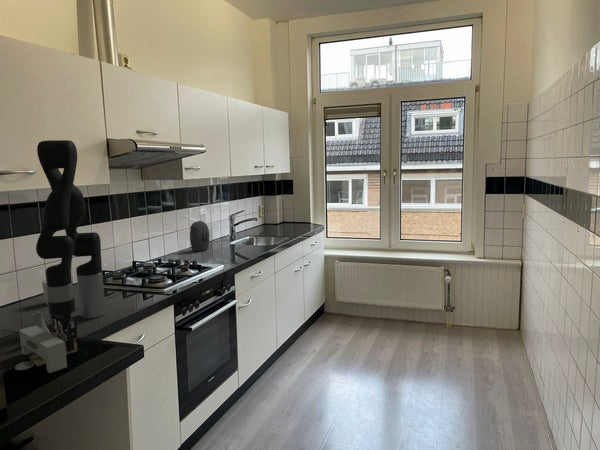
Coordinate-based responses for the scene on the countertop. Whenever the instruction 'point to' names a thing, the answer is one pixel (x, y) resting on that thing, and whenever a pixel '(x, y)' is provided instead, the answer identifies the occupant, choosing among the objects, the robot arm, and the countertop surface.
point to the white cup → (45, 290)
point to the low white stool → (44, 347)
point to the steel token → (24, 365)
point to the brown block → (41, 361)
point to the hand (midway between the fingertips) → (66, 348)
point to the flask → (40, 321)
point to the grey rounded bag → (199, 236)
